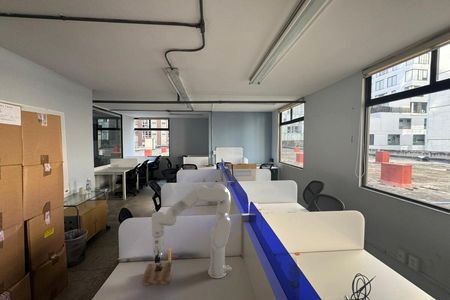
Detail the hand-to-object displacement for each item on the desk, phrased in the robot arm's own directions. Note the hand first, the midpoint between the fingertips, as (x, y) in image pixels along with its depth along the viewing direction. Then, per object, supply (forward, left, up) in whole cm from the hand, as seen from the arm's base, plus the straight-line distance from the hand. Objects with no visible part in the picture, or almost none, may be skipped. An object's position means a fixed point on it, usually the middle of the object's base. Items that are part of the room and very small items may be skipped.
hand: (158, 259), depth 134 cm
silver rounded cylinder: (0, 0, -5) cm, 5 cm away
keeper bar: (-6, 0, +2) cm, 7 cm away
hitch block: (0, 0, -12) cm, 12 cm away
